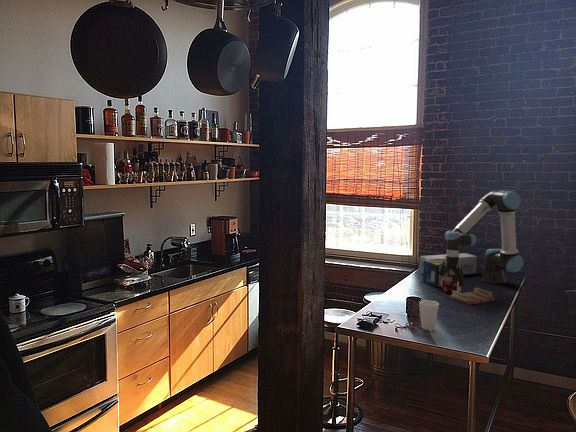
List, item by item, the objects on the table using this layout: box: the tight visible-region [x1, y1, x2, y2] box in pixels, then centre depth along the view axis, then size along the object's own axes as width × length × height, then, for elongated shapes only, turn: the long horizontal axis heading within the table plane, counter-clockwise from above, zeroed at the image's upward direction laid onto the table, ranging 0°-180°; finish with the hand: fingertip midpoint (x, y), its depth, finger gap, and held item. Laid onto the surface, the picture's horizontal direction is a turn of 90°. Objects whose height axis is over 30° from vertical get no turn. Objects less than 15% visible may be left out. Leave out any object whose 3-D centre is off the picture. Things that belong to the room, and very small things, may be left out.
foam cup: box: [418, 299, 440, 331], centre depth 243 cm, size 10×9×13 cm
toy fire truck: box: [441, 275, 463, 295], centre depth 309 cm, size 7×12×10 cm, turn 54°
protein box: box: [422, 259, 450, 288], centre depth 330 cm, size 10×15×16 cm
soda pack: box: [418, 252, 477, 276], centre depth 360 cm, size 41×13×14 cm, turn 104°
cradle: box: [449, 287, 495, 305], centre depth 295 cm, size 20×16×4 cm
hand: (450, 288), depth 310 cm, fingers open, 13 cm apart
